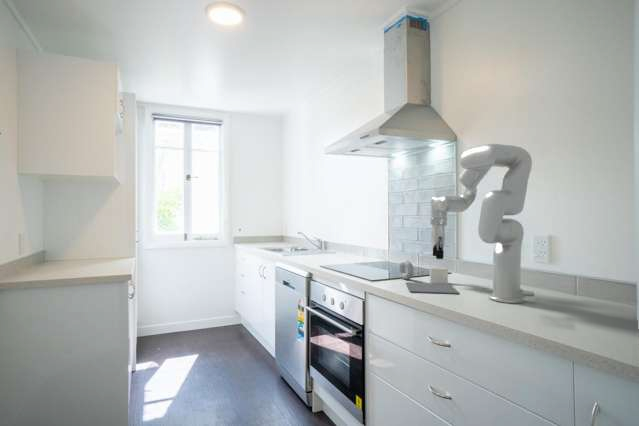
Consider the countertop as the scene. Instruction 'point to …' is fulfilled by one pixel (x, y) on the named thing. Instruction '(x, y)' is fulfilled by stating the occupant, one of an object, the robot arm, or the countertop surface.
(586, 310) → the countertop surface
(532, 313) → the countertop surface
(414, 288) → the mat
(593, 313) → the countertop surface
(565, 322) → the countertop surface
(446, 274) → the tile
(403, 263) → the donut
